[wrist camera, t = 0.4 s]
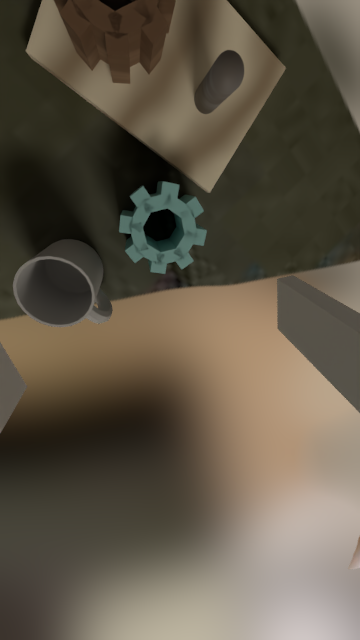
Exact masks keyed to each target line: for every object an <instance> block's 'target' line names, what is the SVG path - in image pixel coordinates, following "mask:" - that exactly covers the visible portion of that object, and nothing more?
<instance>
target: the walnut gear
mask: <svg viewBox="0 0 360 640" xmlns="http://www.w3.org/2000/svg"><path fill="white" fill-rule="evenodd" d="M54 2H55V4H56V6H57V9H58V11H59V13H60V16H61V18H62V20H63V22H64V25H65V27H66V29H67V32H68V34H69V36H70V38H71V41H72V43H73V45H74V48H75V50H76V52H77V54H78V55H79V56H80V57H81V58H82V60H83V61H84V62H85V63H86V64H87V66H88V67H89V68H90V69H91V70H92V71H93V69H94V68H95V66H96V65H97V64H98V62H99V61H100V60H102V61H104V62H105V63H107V64H109V67H110V71H111V76H112V81H113V83H122V84H130V67H131V66H133V65H135V64H137V63H140V64H141V65H142V67H143V68H144V69H145V70H146V72H147V73H148V74H150V73H151V72H152V70H153V69H154V68H155V66H156V65H157V64H158V63H159V61H160V60H161V56H162V52H163V47H164V42H165V37H166V33H167V34H168V33H169V29H170V24H171V20H172V16H173V11H174V7H175V2H176V0H136V1H134V2H132V3H130V4H128V5H126V6H124V7H122V8H120V9H118V10H116V11H114V10H113V9H111V8H110V7H108V6H107V5H105V4H103V3H102V2H100V1H99V0H54Z"/></svg>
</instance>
